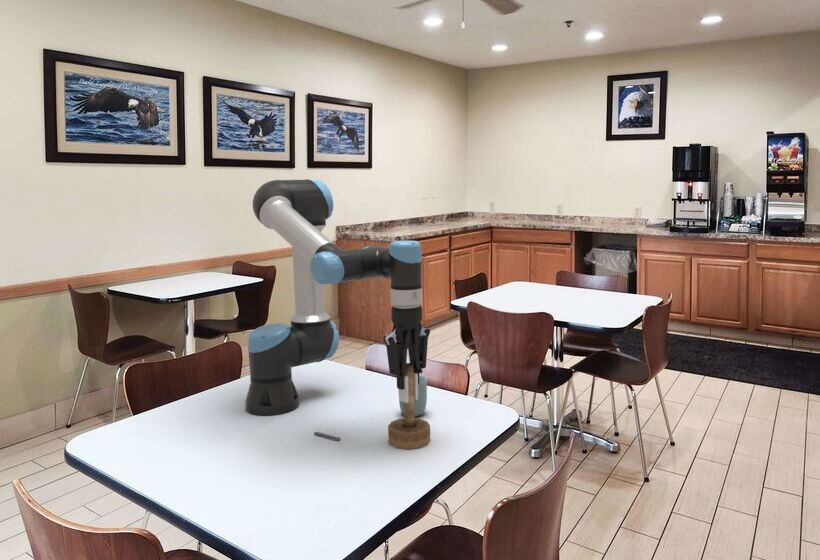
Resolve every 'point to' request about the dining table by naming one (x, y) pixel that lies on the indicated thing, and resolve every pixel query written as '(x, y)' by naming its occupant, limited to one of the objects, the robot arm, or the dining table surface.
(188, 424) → the dining table surface
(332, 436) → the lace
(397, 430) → the bead
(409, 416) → the wooden rod
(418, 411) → the cup
